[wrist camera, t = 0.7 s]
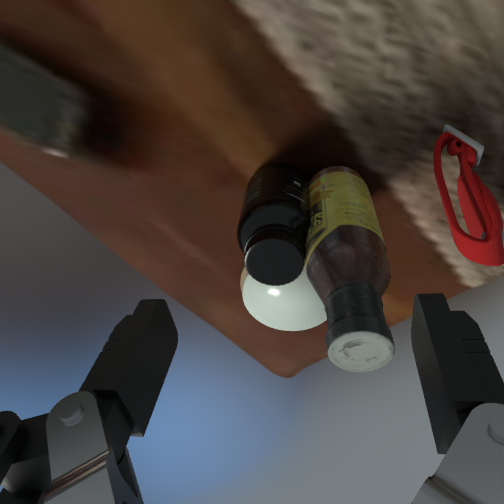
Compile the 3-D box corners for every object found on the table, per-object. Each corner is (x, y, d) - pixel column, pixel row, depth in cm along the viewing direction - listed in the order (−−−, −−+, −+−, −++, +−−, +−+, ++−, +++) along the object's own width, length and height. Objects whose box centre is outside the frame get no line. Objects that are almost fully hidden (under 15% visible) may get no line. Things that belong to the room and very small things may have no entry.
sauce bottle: (303, 163, 38) (307, 308, 22) (370, 161, 37) (425, 309, 21) (303, 221, 42) (307, 380, 26) (364, 220, 41) (406, 384, 25)
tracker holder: (484, 221, 40) (529, 285, 32) (438, 234, 41) (470, 298, 33) (466, 109, 34) (516, 152, 26) (413, 129, 35) (445, 176, 27)
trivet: (332, 234, 43) (333, 247, 41) (347, 312, 49) (349, 327, 47) (228, 252, 46) (224, 265, 44) (255, 324, 52) (254, 338, 50)
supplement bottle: (327, 191, 40) (336, 263, 30) (281, 231, 43) (276, 308, 34) (278, 147, 38) (271, 209, 28) (233, 193, 41) (213, 263, 31)
